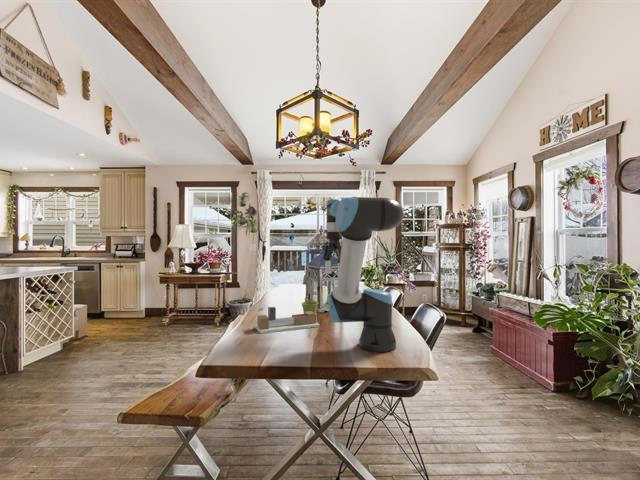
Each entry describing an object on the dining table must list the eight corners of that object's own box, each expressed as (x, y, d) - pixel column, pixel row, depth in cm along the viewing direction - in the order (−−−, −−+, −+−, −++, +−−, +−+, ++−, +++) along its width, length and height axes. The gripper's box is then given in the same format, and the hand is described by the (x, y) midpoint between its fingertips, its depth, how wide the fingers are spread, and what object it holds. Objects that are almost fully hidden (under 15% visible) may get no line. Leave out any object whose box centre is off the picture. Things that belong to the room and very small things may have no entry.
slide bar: (296, 323, 171) (296, 306, 171) (263, 327, 164) (263, 308, 164) (294, 322, 174) (294, 304, 173) (262, 326, 167) (262, 307, 167)
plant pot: (298, 317, 190) (298, 302, 190) (314, 316, 194) (314, 300, 194) (305, 321, 182) (305, 305, 182) (321, 319, 186) (321, 303, 186)
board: (319, 326, 171) (319, 314, 171) (260, 333, 159) (260, 319, 159) (310, 321, 182) (310, 309, 182) (254, 327, 170) (254, 314, 170)
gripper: (353, 231, 156) (353, 277, 156) (329, 231, 179) (329, 272, 179) (339, 230, 153) (339, 278, 153) (316, 231, 176) (316, 272, 176)
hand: (334, 275), depth 166 cm, fingers open, 13 cm apart
